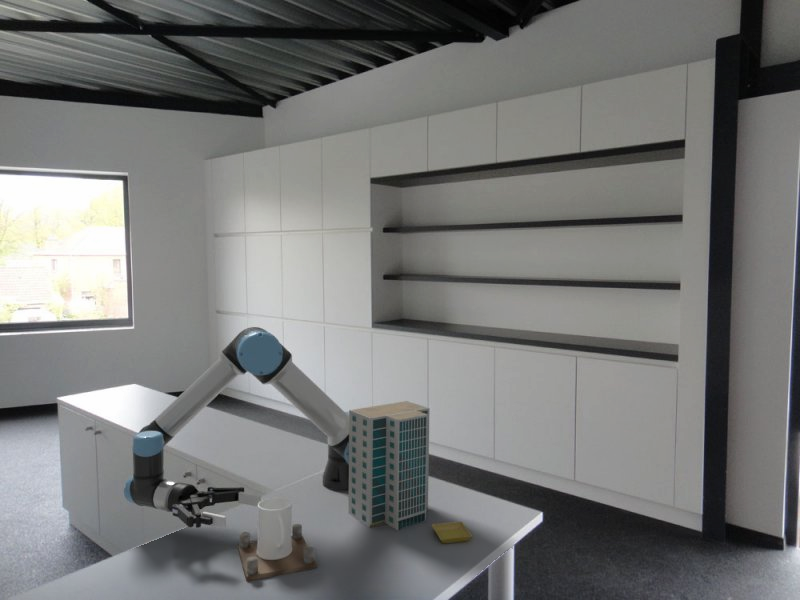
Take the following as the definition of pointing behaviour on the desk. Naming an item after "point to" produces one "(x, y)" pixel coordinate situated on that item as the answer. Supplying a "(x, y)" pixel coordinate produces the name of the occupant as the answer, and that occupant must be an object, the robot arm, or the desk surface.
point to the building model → (389, 464)
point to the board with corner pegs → (264, 568)
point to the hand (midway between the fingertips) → (243, 511)
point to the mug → (274, 528)
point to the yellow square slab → (452, 532)
